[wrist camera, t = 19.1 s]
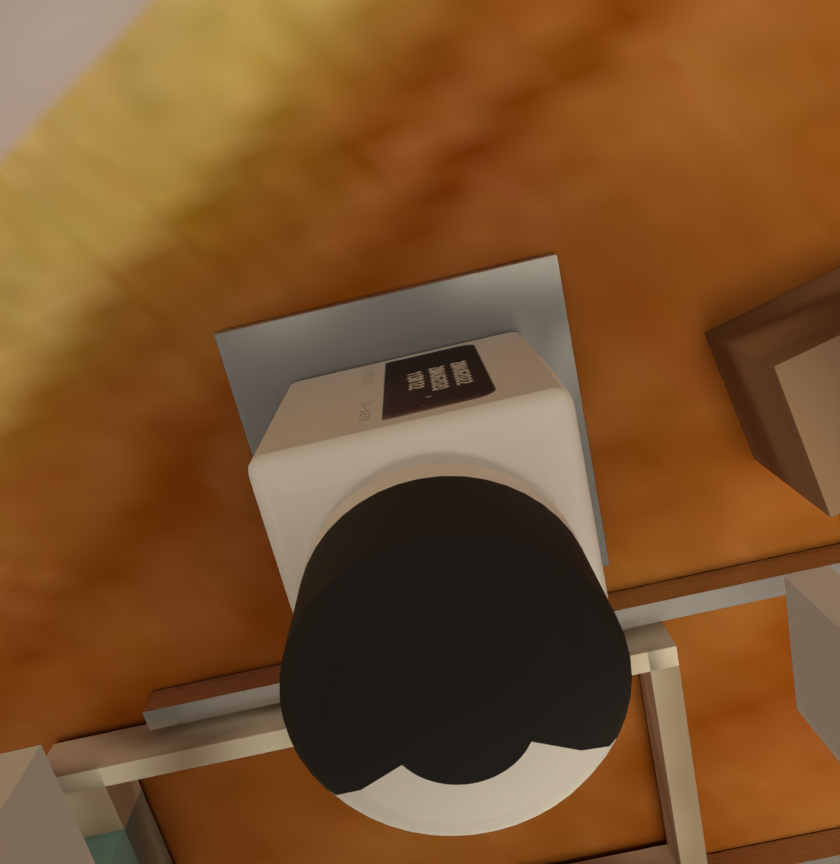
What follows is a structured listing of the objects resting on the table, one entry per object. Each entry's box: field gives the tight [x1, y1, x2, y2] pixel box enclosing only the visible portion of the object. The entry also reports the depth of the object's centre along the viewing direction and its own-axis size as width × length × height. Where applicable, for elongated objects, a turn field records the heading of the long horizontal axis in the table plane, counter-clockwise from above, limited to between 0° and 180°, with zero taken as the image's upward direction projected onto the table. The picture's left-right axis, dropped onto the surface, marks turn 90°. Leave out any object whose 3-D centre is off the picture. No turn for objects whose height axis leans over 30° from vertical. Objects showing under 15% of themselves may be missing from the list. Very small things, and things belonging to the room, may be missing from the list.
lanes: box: [142, 544, 840, 864], centre depth 30 cm, size 32×14×1 cm, turn 103°
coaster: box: [214, 253, 609, 566], centre depth 26 cm, size 11×11×1 cm
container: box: [248, 332, 632, 836], centre depth 20 cm, size 8×8×13 cm
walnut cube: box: [705, 267, 840, 517], centre depth 24 cm, size 5×5×5 cm
